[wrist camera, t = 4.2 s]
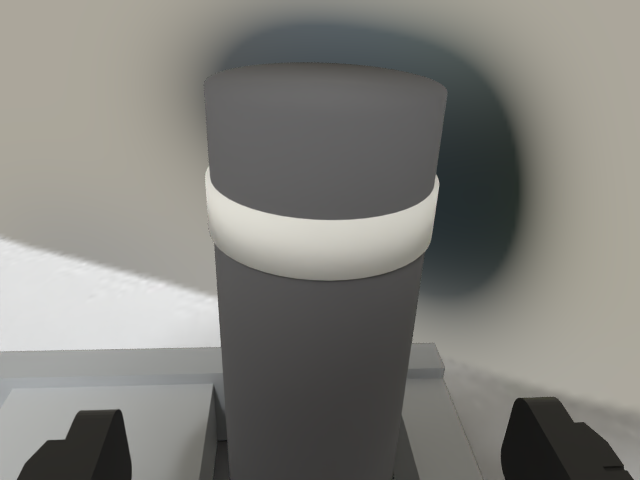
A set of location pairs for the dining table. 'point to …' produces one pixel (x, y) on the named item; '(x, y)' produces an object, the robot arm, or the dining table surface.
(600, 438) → the robot arm
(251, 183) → the grey cylinder white band
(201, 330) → the dining table surface
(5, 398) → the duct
